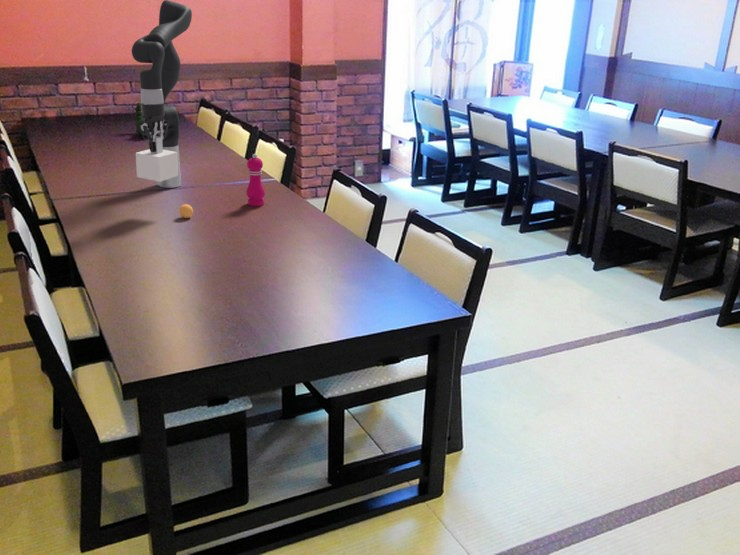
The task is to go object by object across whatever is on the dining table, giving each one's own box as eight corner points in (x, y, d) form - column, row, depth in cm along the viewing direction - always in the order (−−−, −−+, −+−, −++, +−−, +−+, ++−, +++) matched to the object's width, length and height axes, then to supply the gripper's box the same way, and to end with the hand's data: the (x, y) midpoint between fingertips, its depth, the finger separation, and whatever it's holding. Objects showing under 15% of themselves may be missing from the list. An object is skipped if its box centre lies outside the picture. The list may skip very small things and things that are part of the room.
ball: (190, 212, 245) (184, 222, 248) (197, 208, 250) (192, 218, 252) (179, 203, 246) (173, 213, 248) (187, 200, 250) (181, 209, 252)
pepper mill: (268, 203, 271) (267, 153, 264) (258, 207, 265) (257, 156, 257) (253, 200, 274) (252, 151, 266) (243, 204, 268) (241, 154, 260)
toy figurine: (132, 136, 392) (140, 140, 371) (128, 102, 386) (136, 104, 365) (148, 135, 396) (158, 139, 375) (145, 102, 390) (154, 104, 369)
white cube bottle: (137, 176, 245) (134, 137, 240) (155, 171, 254) (153, 132, 249) (160, 181, 242) (158, 141, 236) (178, 175, 251) (176, 136, 245)
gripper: (156, 98, 245) (160, 146, 252) (130, 103, 233) (134, 153, 240) (174, 100, 243) (177, 148, 249) (147, 105, 231) (152, 155, 237)
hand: (156, 150), depth 244 cm, fingers closed on white cube bottle, 3 cm apart
